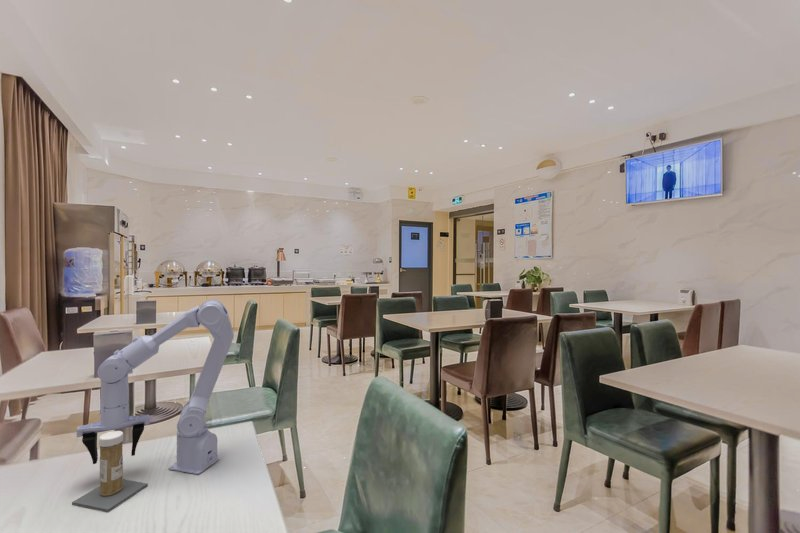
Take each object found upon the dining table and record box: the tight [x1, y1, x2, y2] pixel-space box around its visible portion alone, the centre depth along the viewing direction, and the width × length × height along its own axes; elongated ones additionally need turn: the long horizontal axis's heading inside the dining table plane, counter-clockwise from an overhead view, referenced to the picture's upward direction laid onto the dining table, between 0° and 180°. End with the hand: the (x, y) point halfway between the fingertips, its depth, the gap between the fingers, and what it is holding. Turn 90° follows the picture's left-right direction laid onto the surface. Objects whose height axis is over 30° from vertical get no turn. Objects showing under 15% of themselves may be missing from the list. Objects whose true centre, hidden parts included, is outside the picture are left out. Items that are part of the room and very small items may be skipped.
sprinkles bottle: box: [98, 430, 124, 496], centre depth 90 cm, size 5×5×13 cm
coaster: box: [71, 478, 149, 513], centre depth 90 cm, size 10×10×1 cm
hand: (114, 457), depth 97 cm, fingers open, 7 cm apart
